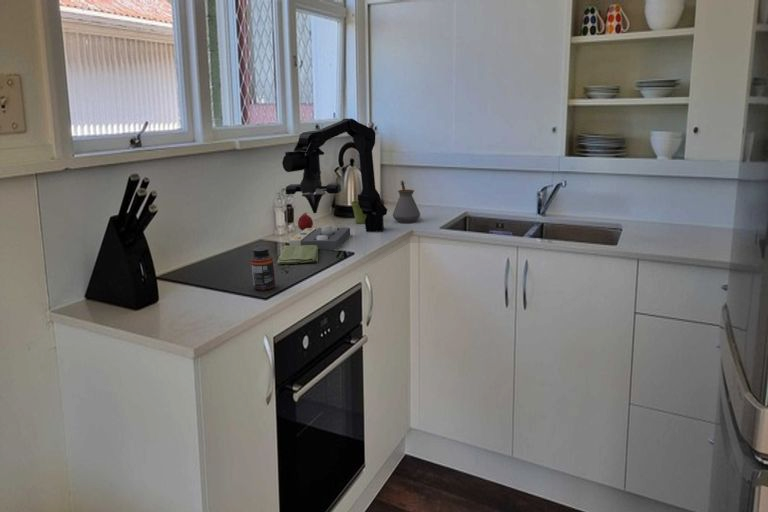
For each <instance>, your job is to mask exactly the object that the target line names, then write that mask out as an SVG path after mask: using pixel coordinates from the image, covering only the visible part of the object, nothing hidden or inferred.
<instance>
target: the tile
mask: <svg viewBox="0 0 768 512" xmlns="http://www.w3.org/2000/svg"><path fill="white" fill-rule="evenodd" d="M316 230H317V227H312V228H306V229H304V230H303V231H302V230H301V231H300V232H299V233H297V234H296V235H295V236H293V237H292V238H291V239H289V240H288V241H289V245H295V246H303V243H302V241H303V240H304V239H306V238H307V237H308V236H309V235H311V234H312V233H313V232H314V231H316Z"/></svg>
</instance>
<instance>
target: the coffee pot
mask: <svg viewBox="0 0 768 512" xmlns="http://www.w3.org/2000/svg"><path fill="white" fill-rule="evenodd" d="M400 185H401V189H399V190H398V191H397V192H398V195H399V197H398V200H397V201H396V205H395V208H394V209H393V212H392V217H393V219H394V220H395V221H396V222H397V221H398V223H399V222H400V223H401V224H410V222H412V223H415V222H417V220H419V218H420V217H421V213H420V211H419V208H418V206H417V203H416V201H415V199H414V196H413V194H414V192H415V190H414V189H406V187H405V181H404V180H401V181H400Z"/></svg>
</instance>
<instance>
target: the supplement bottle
mask: <svg viewBox="0 0 768 512" xmlns="http://www.w3.org/2000/svg"><path fill="white" fill-rule="evenodd" d="M250 263H251V273H252V281H253V283H252V284H253V288H254V289H255V290H256V289H258V290H257V291H267V290H266V289H269V290H271V289H270V288H272V289H274V288H275V287H276V281H275V280H276V279H275V269H274V258H273V256H272V255H271V254H270V253H269V248H268V247H267V246H260V247H255V248H253V255H252V257H251V258H250ZM273 287H274V288H273Z"/></svg>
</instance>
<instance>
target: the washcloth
mask: <svg viewBox="0 0 768 512" xmlns="http://www.w3.org/2000/svg"><path fill="white" fill-rule="evenodd" d="M318 262H319V250H318V246H317V245H303V246H295V245H290V244H289V245H288V244H287V245H284V246H283V247H282V250H281V252H280V255H279V256H278V257H277V265H280V266H282V265H281V264H285V265H297V264H298V263H300V264H312V263H313V264H315V263H318ZM298 265H299V264H298Z"/></svg>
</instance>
